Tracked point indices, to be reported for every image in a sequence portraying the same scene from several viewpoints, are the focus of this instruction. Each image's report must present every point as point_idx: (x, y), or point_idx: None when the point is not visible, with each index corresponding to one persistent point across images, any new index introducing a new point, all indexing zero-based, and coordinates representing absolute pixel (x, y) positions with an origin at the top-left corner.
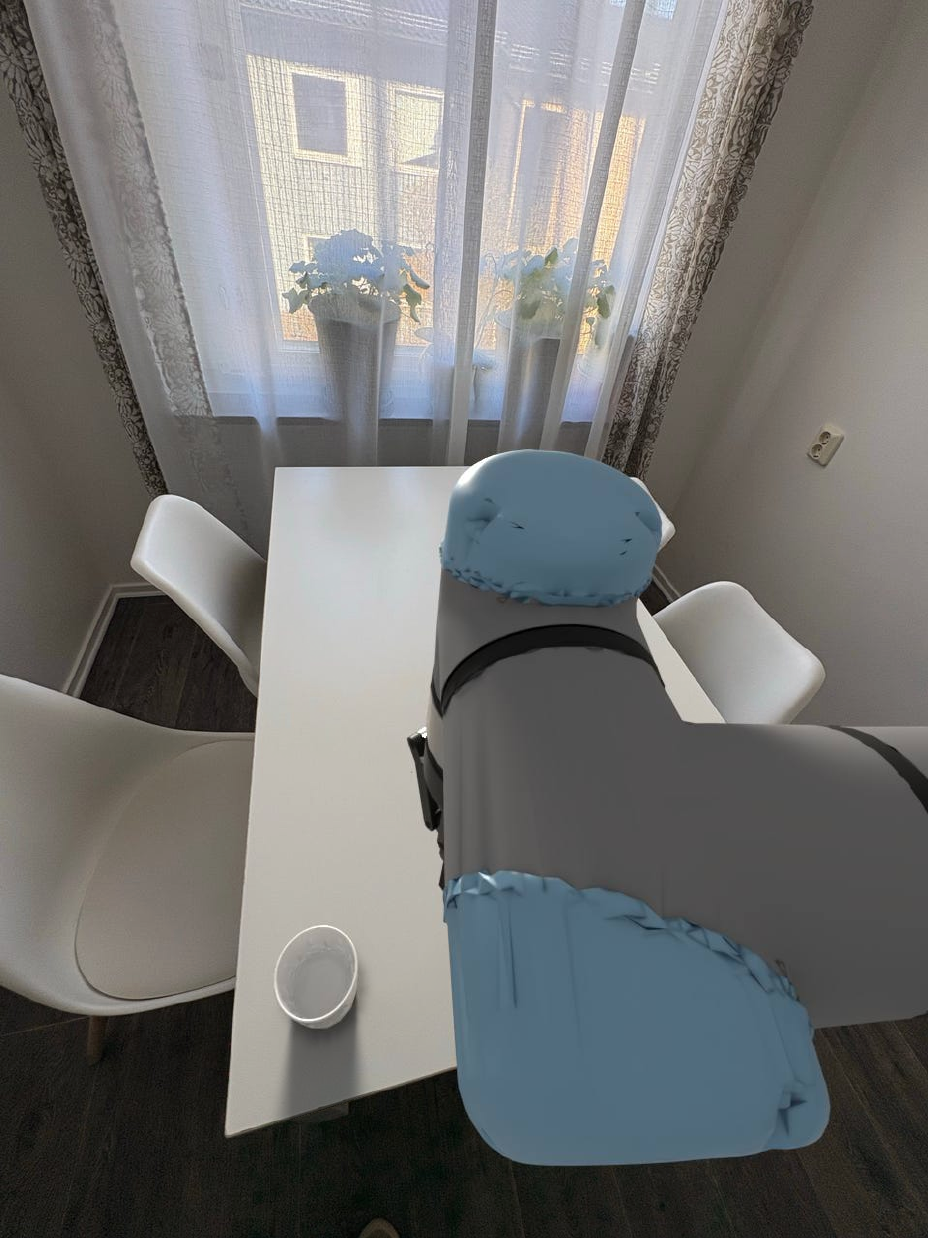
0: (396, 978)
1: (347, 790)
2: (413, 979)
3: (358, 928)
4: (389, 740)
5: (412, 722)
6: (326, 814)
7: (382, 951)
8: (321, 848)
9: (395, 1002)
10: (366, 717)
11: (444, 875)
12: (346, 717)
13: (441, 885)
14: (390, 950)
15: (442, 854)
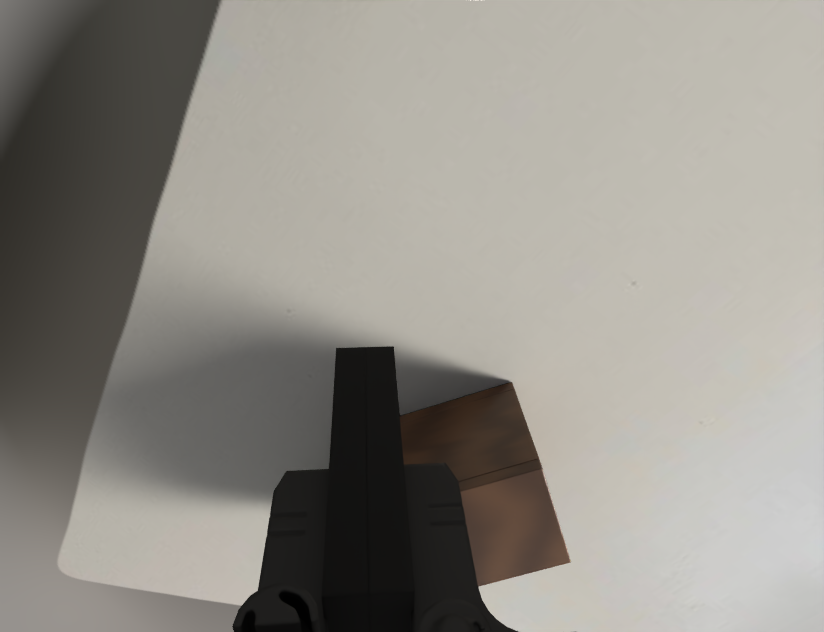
0: (370, 44)
1: (711, 167)
2: (349, 71)
3: (492, 31)
4: (711, 285)
5: (699, 335)
6: (713, 103)
7: (426, 49)
8: (670, 55)
9: (338, 16)
10: (783, 277)
11: (381, 449)
12: (820, 247)
13: (381, 367)
14: (417, 63)
15: (442, 501)
